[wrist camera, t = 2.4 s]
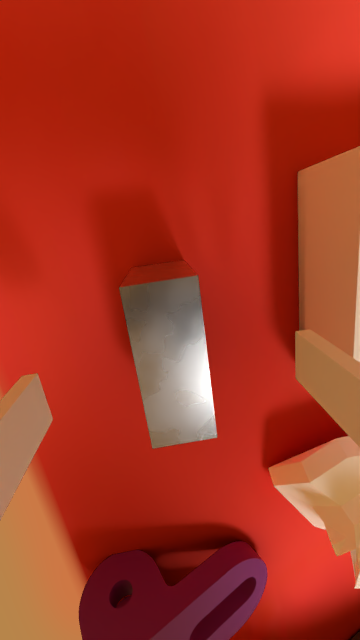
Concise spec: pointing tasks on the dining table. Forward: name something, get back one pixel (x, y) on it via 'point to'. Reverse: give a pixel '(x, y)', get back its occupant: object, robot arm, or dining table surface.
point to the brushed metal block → (170, 351)
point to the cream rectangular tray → (330, 250)
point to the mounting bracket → (172, 597)
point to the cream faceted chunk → (326, 492)
